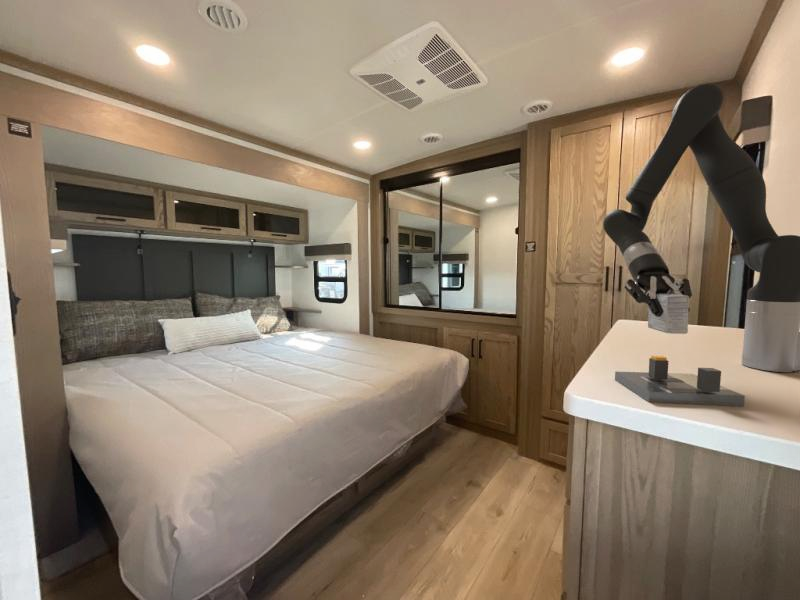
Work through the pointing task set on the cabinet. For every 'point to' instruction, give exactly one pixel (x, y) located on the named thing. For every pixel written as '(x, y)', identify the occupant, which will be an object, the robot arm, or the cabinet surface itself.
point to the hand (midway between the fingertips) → (672, 314)
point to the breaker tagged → (658, 367)
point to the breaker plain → (709, 379)
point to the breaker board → (676, 389)
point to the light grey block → (670, 314)
